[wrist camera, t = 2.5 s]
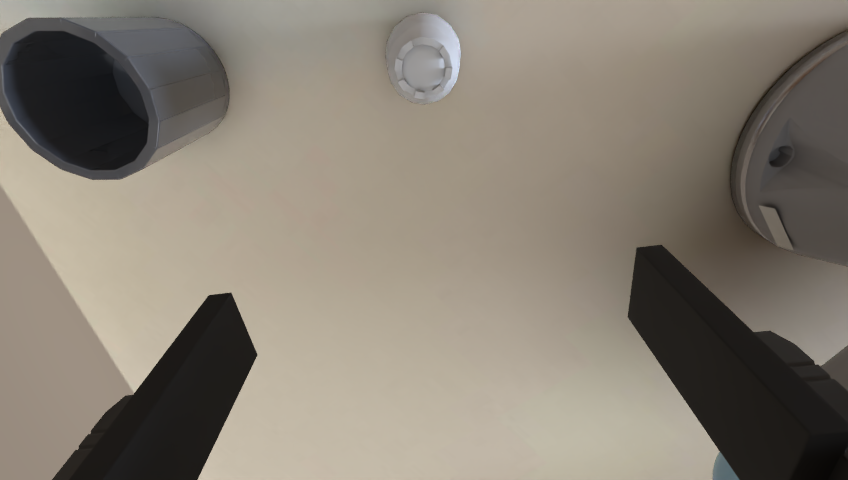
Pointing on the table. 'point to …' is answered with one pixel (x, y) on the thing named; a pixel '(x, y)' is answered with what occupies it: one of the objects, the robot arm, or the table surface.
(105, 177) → the cup
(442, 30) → the rook chess piece
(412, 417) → the table surface
